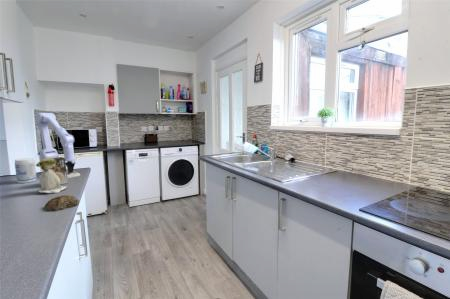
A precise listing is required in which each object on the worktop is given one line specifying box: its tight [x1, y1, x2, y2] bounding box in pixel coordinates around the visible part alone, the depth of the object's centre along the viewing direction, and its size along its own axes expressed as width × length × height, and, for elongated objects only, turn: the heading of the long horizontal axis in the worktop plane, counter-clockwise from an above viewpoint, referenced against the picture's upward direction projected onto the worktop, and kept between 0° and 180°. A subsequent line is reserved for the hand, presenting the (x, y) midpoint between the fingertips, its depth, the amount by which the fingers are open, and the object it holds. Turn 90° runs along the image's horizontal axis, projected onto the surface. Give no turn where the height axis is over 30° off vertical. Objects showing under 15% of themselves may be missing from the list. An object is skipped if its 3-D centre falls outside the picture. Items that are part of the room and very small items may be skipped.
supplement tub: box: [14, 157, 38, 184], centre depth 145 cm, size 10×10×15 cm
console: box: [67, 170, 81, 179], centre depth 158 cm, size 16×13×4 cm
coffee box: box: [51, 156, 69, 186], centre depth 138 cm, size 9×6×16 cm
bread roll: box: [44, 194, 80, 212], centre depth 104 cm, size 13×12×5 cm
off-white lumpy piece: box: [35, 158, 67, 194], centre depth 124 cm, size 12×13×18 cm
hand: (71, 172), depth 158 cm, fingers closed
